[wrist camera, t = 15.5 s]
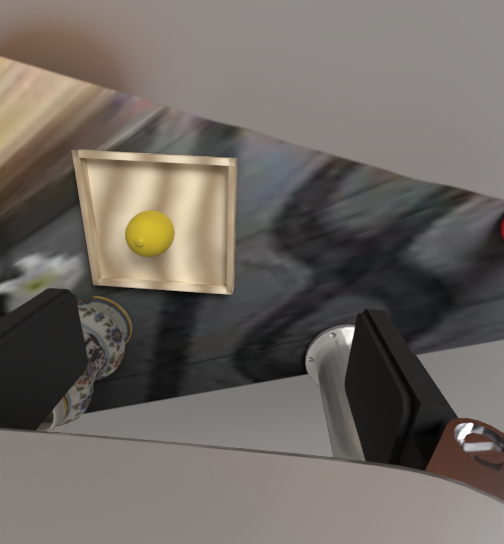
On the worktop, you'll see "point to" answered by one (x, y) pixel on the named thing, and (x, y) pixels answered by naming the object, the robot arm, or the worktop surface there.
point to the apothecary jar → (93, 356)
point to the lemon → (149, 233)
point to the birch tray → (170, 201)
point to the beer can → (502, 229)
